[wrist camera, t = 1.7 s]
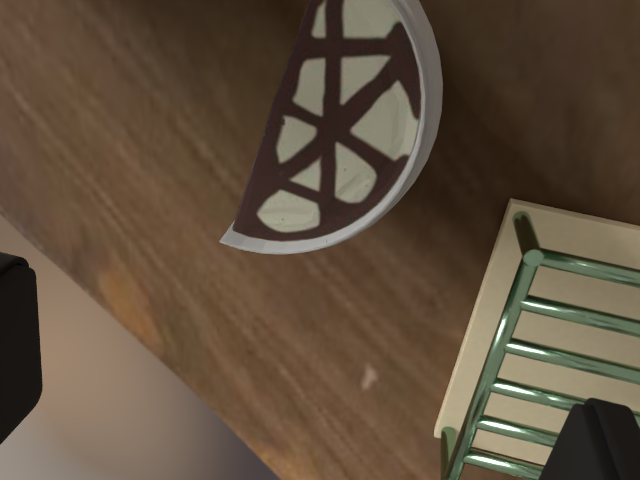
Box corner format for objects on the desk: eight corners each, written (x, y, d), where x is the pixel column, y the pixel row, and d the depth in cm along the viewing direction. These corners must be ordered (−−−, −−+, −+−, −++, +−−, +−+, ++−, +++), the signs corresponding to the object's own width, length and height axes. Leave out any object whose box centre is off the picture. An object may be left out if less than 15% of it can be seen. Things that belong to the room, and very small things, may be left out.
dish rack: (434, 428, 38) (432, 553, 30) (510, 197, 31) (534, 280, 23) (660, 485, 36) (722, 633, 28) (794, 258, 29) (927, 370, 21)
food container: (381, 217, 32) (359, 314, 23) (277, 173, 32) (215, 253, 23) (489, -12, 27) (513, 0, 18) (363, -65, 27) (324, -79, 18)
